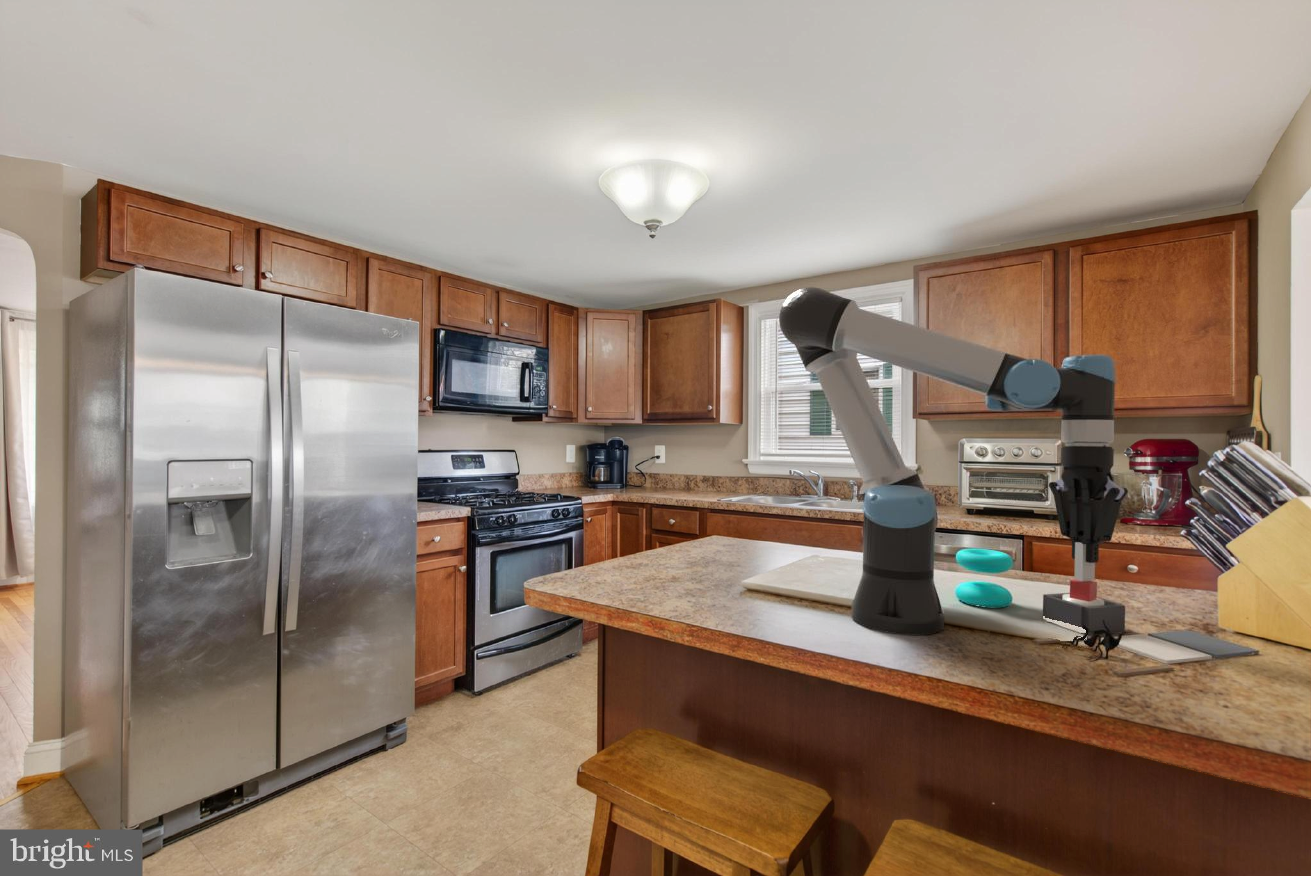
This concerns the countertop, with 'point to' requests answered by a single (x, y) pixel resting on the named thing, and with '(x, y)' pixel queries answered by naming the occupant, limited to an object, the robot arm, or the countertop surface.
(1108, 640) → the creature
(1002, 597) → the donuts
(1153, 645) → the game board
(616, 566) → the countertop surface
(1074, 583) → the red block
